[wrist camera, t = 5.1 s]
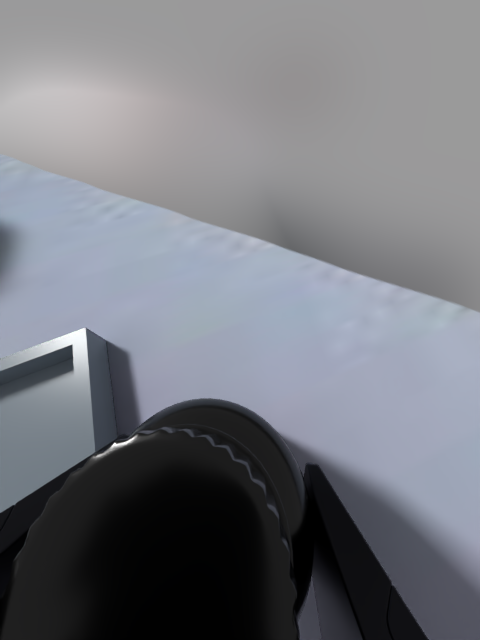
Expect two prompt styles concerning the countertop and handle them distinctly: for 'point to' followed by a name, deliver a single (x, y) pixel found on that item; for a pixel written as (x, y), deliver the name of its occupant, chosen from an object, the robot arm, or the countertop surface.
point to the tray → (52, 411)
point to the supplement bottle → (171, 537)
